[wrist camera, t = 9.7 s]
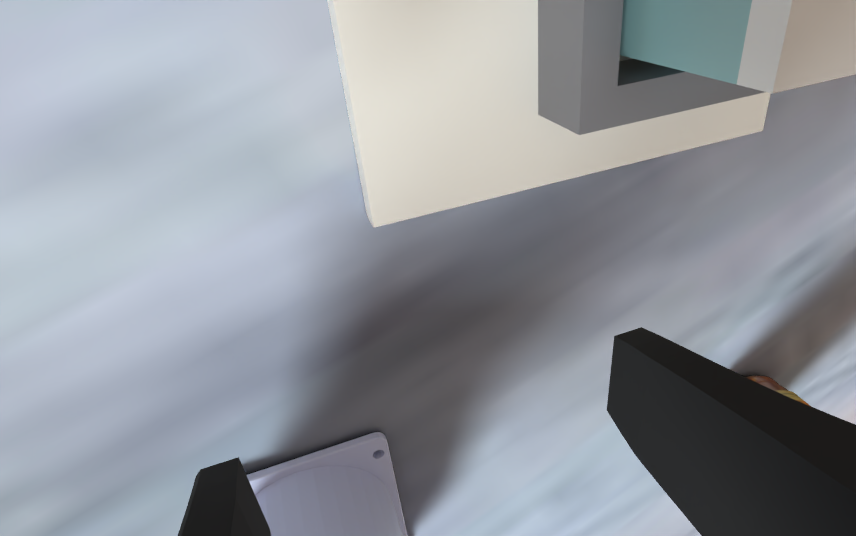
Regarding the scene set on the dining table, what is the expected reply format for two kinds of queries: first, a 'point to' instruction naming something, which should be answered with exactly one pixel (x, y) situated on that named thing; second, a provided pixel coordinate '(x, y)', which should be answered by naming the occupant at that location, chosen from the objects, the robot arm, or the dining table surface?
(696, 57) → the block
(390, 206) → the outlet plate
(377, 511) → the robot arm
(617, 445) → the dining table surface
